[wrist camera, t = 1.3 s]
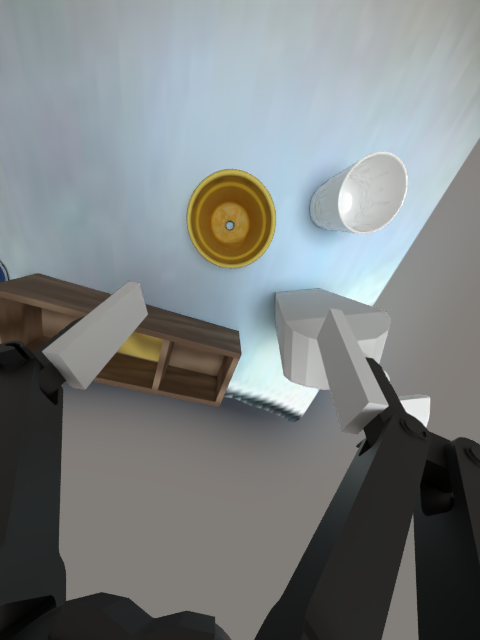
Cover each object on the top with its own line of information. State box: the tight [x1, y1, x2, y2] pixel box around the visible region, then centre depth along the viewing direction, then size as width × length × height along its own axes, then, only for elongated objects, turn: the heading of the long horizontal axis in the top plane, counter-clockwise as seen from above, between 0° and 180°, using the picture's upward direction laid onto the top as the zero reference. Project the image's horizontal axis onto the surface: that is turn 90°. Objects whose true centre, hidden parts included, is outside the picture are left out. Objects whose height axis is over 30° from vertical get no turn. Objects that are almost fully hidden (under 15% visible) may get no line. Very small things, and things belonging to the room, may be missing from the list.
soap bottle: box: [275, 288, 430, 427], centre depth 27 cm, size 12×10×26 cm
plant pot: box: [187, 169, 276, 268], centre depth 27 cm, size 10×10×10 cm
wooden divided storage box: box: [0, 274, 241, 407], centre depth 35 cm, size 13×36×8 cm, turn 70°
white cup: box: [310, 152, 408, 234], centre depth 26 cm, size 8×8×10 cm
